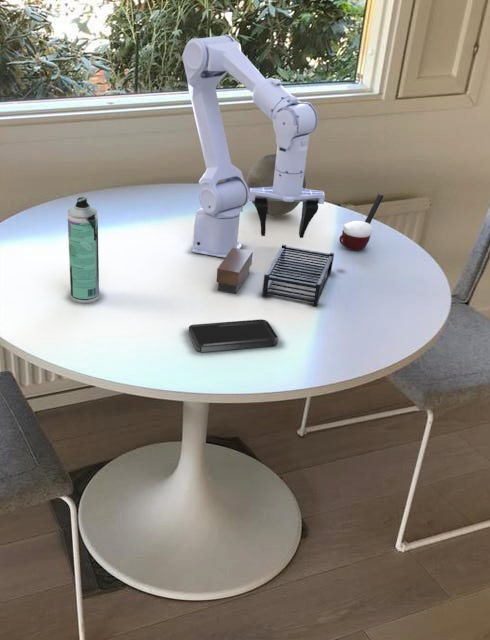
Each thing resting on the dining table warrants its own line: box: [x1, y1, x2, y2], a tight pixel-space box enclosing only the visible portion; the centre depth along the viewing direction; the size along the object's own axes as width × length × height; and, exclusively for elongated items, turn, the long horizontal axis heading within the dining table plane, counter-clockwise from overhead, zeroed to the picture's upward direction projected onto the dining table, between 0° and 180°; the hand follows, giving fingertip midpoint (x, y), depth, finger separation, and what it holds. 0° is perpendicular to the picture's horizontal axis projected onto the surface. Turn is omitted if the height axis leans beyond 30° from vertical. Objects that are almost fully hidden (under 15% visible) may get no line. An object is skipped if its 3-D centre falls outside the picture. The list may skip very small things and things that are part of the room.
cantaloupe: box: [246, 153, 307, 217], centre depth 185 cm, size 14×14×15 cm
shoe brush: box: [216, 248, 254, 295], centre depth 156 cm, size 4×11×5 cm, turn 161°
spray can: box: [67, 196, 100, 304], centre depth 144 cm, size 6×6×20 cm
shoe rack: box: [261, 243, 335, 308], centre depth 156 cm, size 11×16×5 cm
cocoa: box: [338, 192, 384, 251], centre depth 171 cm, size 10×6×12 cm, turn 95°
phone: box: [188, 318, 279, 353], centre depth 138 cm, size 8×1×15 cm
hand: (281, 235), depth 155 cm, fingers open, 7 cm apart
